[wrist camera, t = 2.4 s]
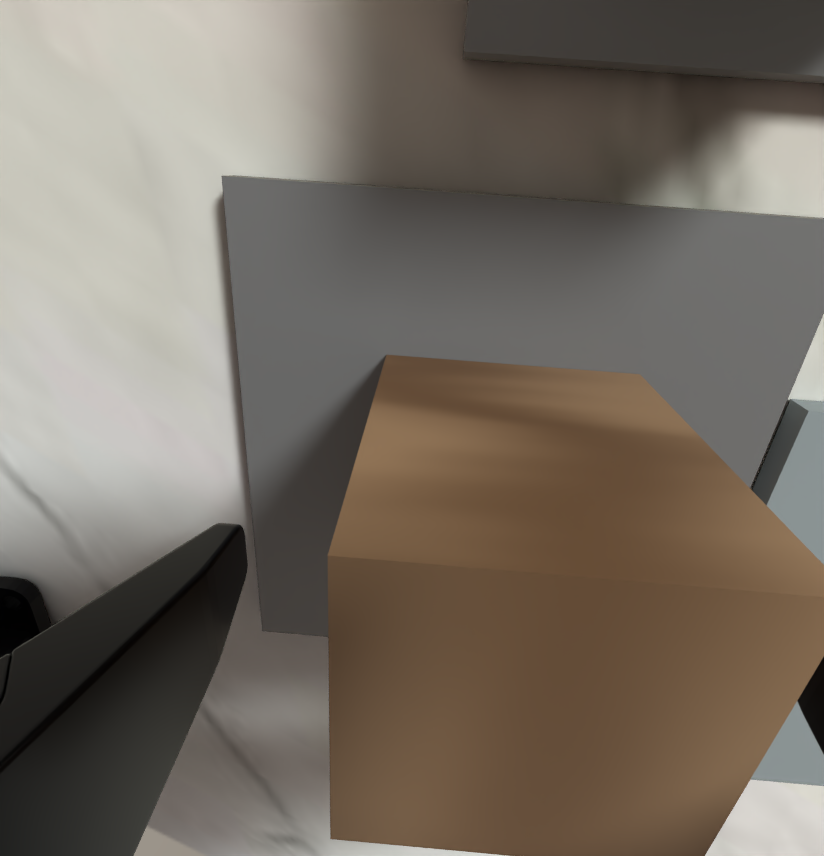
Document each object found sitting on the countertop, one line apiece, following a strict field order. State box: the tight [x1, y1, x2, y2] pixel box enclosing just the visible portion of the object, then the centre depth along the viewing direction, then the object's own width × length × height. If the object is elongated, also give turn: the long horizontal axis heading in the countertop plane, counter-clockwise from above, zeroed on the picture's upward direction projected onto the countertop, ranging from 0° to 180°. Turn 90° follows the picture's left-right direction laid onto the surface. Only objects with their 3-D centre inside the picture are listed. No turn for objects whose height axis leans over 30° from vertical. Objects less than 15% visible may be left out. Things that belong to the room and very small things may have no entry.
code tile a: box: [222, 175, 824, 637], centre depth 12 cm, size 11×11×1 cm
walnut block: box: [328, 355, 824, 856], centre depth 9 cm, size 5×5×6 cm
